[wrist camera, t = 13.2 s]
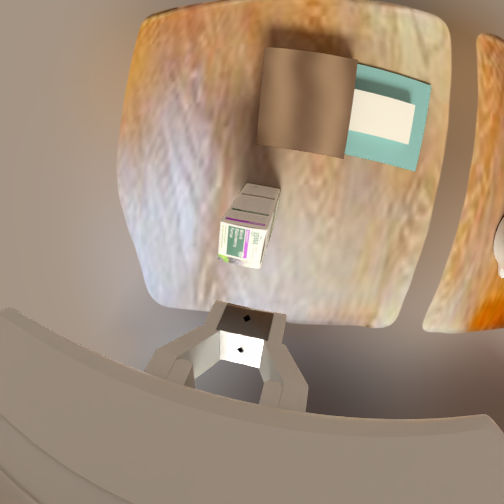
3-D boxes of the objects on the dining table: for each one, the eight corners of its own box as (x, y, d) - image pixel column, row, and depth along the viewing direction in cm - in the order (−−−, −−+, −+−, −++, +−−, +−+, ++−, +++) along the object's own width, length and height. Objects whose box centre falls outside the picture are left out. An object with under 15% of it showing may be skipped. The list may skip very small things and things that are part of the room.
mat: (430, 85, 30) (431, 85, 29) (414, 171, 37) (414, 171, 37) (354, 63, 31) (354, 63, 31) (341, 153, 39) (341, 153, 39)
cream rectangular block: (411, 104, 32) (415, 105, 30) (404, 142, 35) (408, 144, 34) (352, 89, 33) (354, 88, 32) (347, 128, 36) (348, 129, 35)
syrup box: (246, 181, 45) (216, 219, 32) (282, 188, 44) (267, 230, 32) (242, 213, 48) (214, 260, 36) (277, 220, 47) (260, 271, 35)
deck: (354, 63, 31) (357, 60, 28) (341, 153, 39) (343, 158, 36) (269, 51, 33) (264, 46, 30) (261, 140, 40) (256, 144, 37)
